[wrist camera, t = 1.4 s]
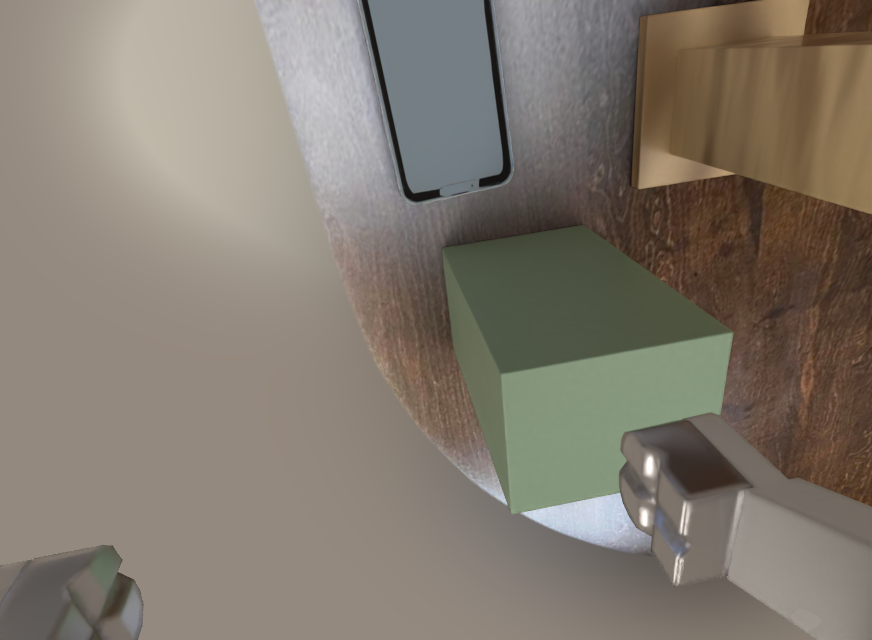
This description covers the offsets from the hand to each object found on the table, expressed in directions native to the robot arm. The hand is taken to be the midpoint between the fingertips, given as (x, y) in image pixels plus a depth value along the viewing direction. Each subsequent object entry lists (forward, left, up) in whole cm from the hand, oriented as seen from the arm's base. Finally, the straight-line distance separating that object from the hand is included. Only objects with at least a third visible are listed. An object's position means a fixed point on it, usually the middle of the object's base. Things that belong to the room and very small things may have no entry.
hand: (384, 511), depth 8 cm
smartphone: (-2, +8, -27) cm, 28 cm away
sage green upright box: (+13, +3, -27) cm, 30 cm away
